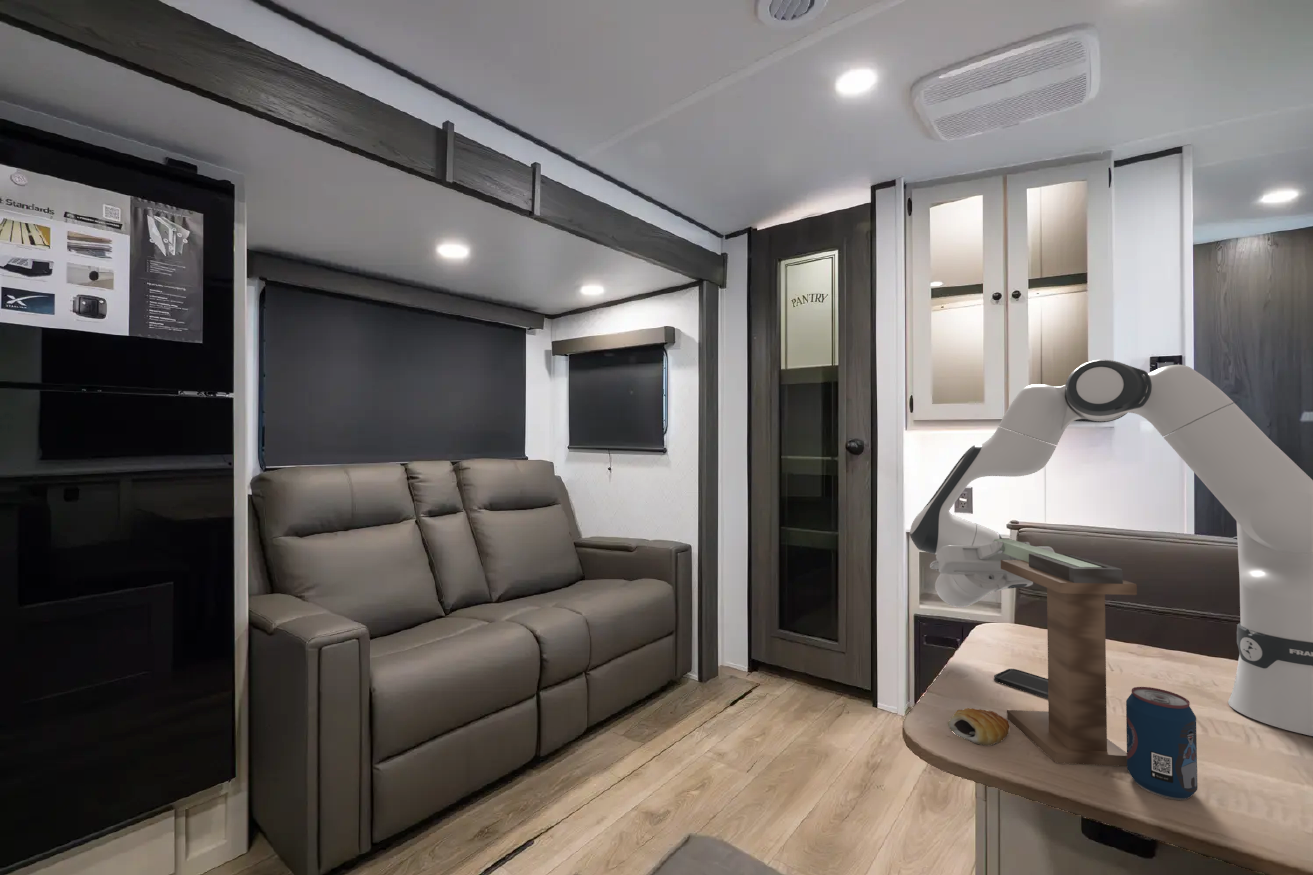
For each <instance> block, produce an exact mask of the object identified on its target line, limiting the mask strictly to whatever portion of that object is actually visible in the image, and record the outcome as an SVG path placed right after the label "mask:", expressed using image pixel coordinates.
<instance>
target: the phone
mask: <svg viewBox="0 0 1313 875" xmlns="http://www.w3.org/2000/svg"><path fill="white" fill-rule="evenodd" d="M993 680H994V681H995V682H996V683H998V682H1000V683H999V684H1001V683H1003V684H1002V685H1004V684H1006V685H1005V686H1008V687H1011V688H1014V689H1017V690H1020V689H1021V690H1020V691H1023V690H1024V691H1023V692H1025V693H1029V694H1032V695H1034V696H1038V697H1040V698H1043V699H1047V700H1048V677H1047V678H1046V677H1043V676H1039V675H1036V674H1033V673H1030V672H1026V671H1023V670H1020V669H1016V668H1007V669H1006V670H1003V671H1000V672H998V673H996V674H994V676H993Z"/></svg>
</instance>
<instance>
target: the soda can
mask: <svg viewBox="0 0 1313 875" xmlns="http://www.w3.org/2000/svg"><path fill="white" fill-rule="evenodd" d="M1190 705H1191V703H1190V701H1189V700H1188V698H1185V697H1184V696H1182V695H1179V694H1177V693H1175V692H1173V691H1168V690H1165V689H1161V688H1157V687H1150V686H1136V687H1132V688H1131V694H1129V696H1128V698H1127V699H1126V701H1125V707H1126V708H1125V709H1126V710H1125V711H1126V713H1125V714H1126V717H1125V718H1126V721H1125V722H1126V724H1125V725H1126V753H1127V767H1126V768H1127V772H1128V774H1130V776H1131V778H1132V780H1133V781H1134V783H1135V784H1136V785H1138V787H1140V788H1141V789H1143V790H1145V791H1147V792H1149V793H1151V794H1153V795H1156V796H1157V797H1161V798H1165V799H1170V800H1174V801H1175V800H1176V801H1187V800H1188V799H1190V798H1191V797H1193V795H1194V794H1195V793H1196V792H1197V791H1198V753H1197V752H1198V748H1197V746H1198V745H1197V744H1198V743H1197V742H1198V740H1197V739H1198V738H1197V717H1196V715H1195V713H1194V711H1193V709H1192V707H1191V706H1190Z"/></svg>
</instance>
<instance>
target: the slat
mask: <svg viewBox="0 0 1313 875" xmlns="http://www.w3.org/2000/svg"><path fill="white" fill-rule="evenodd" d="M994 541H999V542H1003V543H1004V545H1003V546H1004V547H1005V551H1004V552H1003V553H1004V554H1007V555H1010V556H1012V557H1015V558H1018V559H1021V560H1023V561H1026V562H1029V554H1039V555H1042V556H1045V557H1048V558H1051V559H1054V560H1057V561H1060V562H1064V563H1067V564H1070V565H1073V566H1076V567H1094V568H1102V567H1100V566H1097V565H1094V564H1091V563H1087V562H1084V561H1081V560H1077V559H1074V558H1071V557H1068V556H1064V555H1063V554H1061V553H1057V552H1055V551H1054V552H1055V553H1054V552H1051V551H1048V550H1045V549H1041V548H1038V547H1039V546H1034V545H1031V544H1030V545H1028V544H1025V543H1022V542H1023V541H1018V540H1014V539H1010V538H1007V539H1006V538H1004V539H1003V538H1002V539H994Z"/></svg>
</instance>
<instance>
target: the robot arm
mask: <svg viewBox="0 0 1313 875" xmlns="http://www.w3.org/2000/svg"><path fill="white" fill-rule="evenodd" d="M1128 413H1131V414H1135V415H1138V416H1140V417H1142V418H1144V419H1145V420H1146V421H1148V422H1149V423H1150V424H1151V425H1152V426H1153V427H1154V428H1155V429H1156V430H1157V432H1158V433H1159V435H1160V436H1162V437H1163V439H1164V440H1165V441H1166V442H1167V443H1168V445H1169V446H1170V447H1171V448H1172V449H1173V450H1174V452H1175V453H1177V455H1178V456H1179V457H1180V458H1181V460H1183V462H1184V463H1185V464H1186V465H1187V466H1188V467H1189V468H1190V469H1191V471H1192V472H1193V473H1194V475H1196V476H1197V477H1198V479H1199V480H1200V481H1201V482H1202V483H1203V484H1204V485H1205V486H1206V488H1207V489H1208V490H1209V491H1210V492H1211V494H1212V495H1214V497H1215V498H1216V500H1218V501H1219V503H1220V504H1221V505H1222V506H1223V507H1224V509H1225V510H1226V511H1227V512H1228V513H1229V514H1230V515H1231V517H1232V518H1233V520H1235V521H1236V537H1237V557H1238V560H1237V561H1238V572H1239V573H1238V574H1239V575H1238V576H1239V607H1240V608H1239V611H1240V612H1239V614H1240V617H1239V618H1240V619H1239V620H1240V622H1239V623H1238V624H1237V625H1236V644H1237V647H1238V652H1239V656H1238V662H1237V668H1236V674H1235V680H1234V683H1233V688H1232V692H1231V693H1230V694H1231V695H1229V699H1228V701H1227V703H1228V705H1229V707H1231V708H1232V709H1233V710H1235V711H1236V712H1238V713H1240V714H1242V715H1244V716H1246V717H1248V718H1249V719H1250V718H1251V719H1253V720H1255V721H1258V722H1260V723H1263V724H1267V725H1269V726H1272V727H1275V728H1279V729H1282V730H1286V731H1289V732H1293V733H1297V734H1300V735H1301V734H1303V735H1305V736H1306V735H1307V736H1310V737H1313V479H1312V478H1311V477H1310V476H1309V475H1308V474H1307V473H1306V472H1305V471H1304V470H1303V469H1301V468H1300V467H1299V466H1298V465H1297V463H1295V461H1294V460H1292V459H1291V458H1290V457H1289V456H1288V455H1287V454H1286V453H1285V452H1284V451H1283V450H1281V448H1279V446H1277V445H1276V444H1275V443H1274V442H1273V441H1272V440H1271V439H1270V438H1269V437H1268V436H1267V435H1266V434H1265V433H1264V432H1263V431H1262V430H1261V429H1260V428H1259V427H1258V426H1257V425H1256V424H1255V422H1253V421H1252V419H1251V418H1250V417H1249V416H1248V415H1247V414H1246V413H1245V412H1244V411H1243V410H1242V409H1241V408H1240V407H1239V406H1238V405H1237V404H1236V403H1235V402H1234V401H1233V400H1232V398H1230V397H1229V396H1228V395H1227V394H1226V393H1225V392H1223V391H1222V390H1221V389H1220V388H1219V387H1218V386H1217V385H1216V384H1214V383H1213V382H1212V381H1211V380H1209V379H1208V378H1207V377H1205V376H1204V375H1203V374H1201V373H1200V372H1199V371H1197V370H1195V369H1194V368H1192V367H1189V366H1188V365H1184V364H1173V365H1172V364H1171V365H1166V366H1162V367H1159V368H1157V369H1155V370H1153V371H1150V372H1148V371H1146V370H1144V369H1141V368H1138V367H1135V366H1131V365H1128V364H1126V363H1123V362H1120V361H1116V360H1111V359H1094V360H1091V361H1088V362H1084V363H1082V364H1081V365H1079V366H1078V367H1076V368H1075V369H1074V370H1073V371H1072V372H1071V373H1070V374H1069V375H1068V378H1067V380H1066V383H1065V384H1064V385H1061V386H1053V385H1049V384H1044V383H1043V384H1041V383H1038V384H1037V383H1036V384H1030V385H1027V386H1025V387H1023V388H1022V389H1021V390H1020V391H1019V392H1018V394H1017V395H1016V396H1015V397H1014V399H1013V400H1012V402H1011V403H1010V405H1009V407H1008V408H1007V410H1006V412H1005V413H1004V415H1003V416H1002V419H1001V421H1000V422H999V424H998V426H997V429H996V431H995V432H994V433H993V435H992V436H990V438H988V439H987V440H986V441H985V442H983V443H982V444H975V445H972V446H971V447H970V448H968V449H967V450H966V451H965V452H964V454H963V455H962V456H961V457H960V458H959V459H958V461H957V463H956V464H955V465H954V466H953V467H952V469H951V470H950V472H949V474H947V476H946V477H945V479H944V480H943V482H942V483H941V484H940V486H939V487H938V488H937V490H936V492H935V493H934V495H933V496H932V497H931V498H930V499H929V501H928V503H927V504H926V505H925V506H924V507H923V509H921V511H920V512H919V513H917V515H916V516H915V518H914V519H913V520H912V523H911V525H910V530H909V536H910V538H911V540H912V542H913V544H914V545H915V547H916V548H917V550H919V551H922V552H924V553H928V554H931V555H935V559H936V560H933V561H932V562H930V564H929V568H930V569H931V570H934V571H936V572H937V571H938V573H939V575H938V576H937V578H936V580H935V583H934V588H935V592H936V595H938V597H939V598H940V599H941V600H942V601H943V602H944V603H946V604H947V605H949V606H951V607H955V608H963V607H964V608H966V607H969V606H971V605H974V604H976V603H978V602H979V601H981V600H982V599H985V597H986V596H988V595H991V594H992V593H996V592H1000V591H1004V590H1007V589H1016V588H1017V589H1018V588H1026V587H1030V586H1033V585H1034V582H1032V581H1029V580H1027V579H1025V578H1022V577H1020V576H1017V575H1015V574H1012V573H1010V572H1008V571H1005V570H1003V569H1001V560H1021V559H1018V558H1015V557H1012V556H1010V555H1007V554H1004V553H1003V552H1004V551H1005V547H1004V546H1003V545H1004V543H1003V542H999V541H994V539H1003V537H1002V536H1001V534H1000V533H999V532H998V531H995V530H993V529H990V528H989V527H986V526H983V525H980V524H978V523H975V522H972V521H969V520H966V519H965V518H962V517H959V516H956V515H955V514H952V513H951V512H950V510H951V509H952V507H953V506H954V505H955V503H956V502H957V500H958V499H959V498H960V496H961V495H962V493H963V492H964V490H966V488H967V487H968V485H969V484H970V483H971V482H972V481H974V480H976V479H979V478H984V477H1010V478H1011V477H1015V478H1016V477H1024V476H1028V475H1032V474H1035V473H1037V472H1040V471H1041V470H1042V469H1043V468H1044V467H1045V466H1047V464H1048V462H1049V461H1050V459H1051V458H1052V456H1053V455H1054V452H1055V450H1056V448H1057V446H1058V445H1059V443H1060V440H1061V438H1062V437H1063V434H1064V433H1065V431H1066V429H1067V427H1069V425H1071V423H1072V422H1084V423H1085V422H1087V423H1089V422H1090V423H1107V422H1113V421H1116V420H1119V419H1121V418H1122V417H1124V416H1126V415H1127V414H1128ZM1021 542H1022V543H1025V544H1028V545H1031V543H1030V542H1029V541H1021ZM1037 547H1038V548H1041V549H1045V550H1048V551H1051V552H1054V553H1056V552H1055V550H1054V548H1052V547H1051V546H1037Z"/></svg>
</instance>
